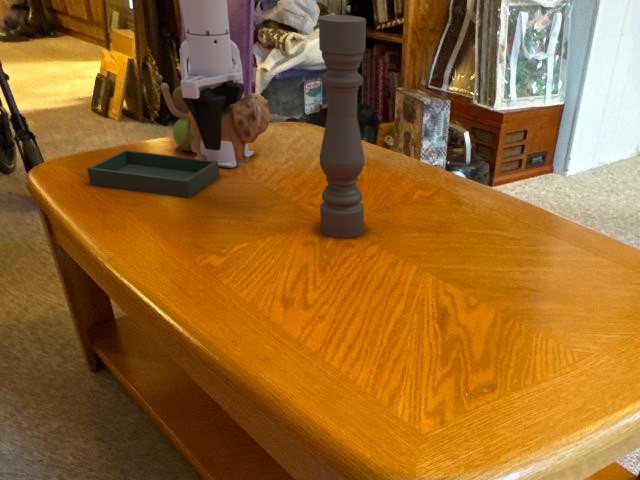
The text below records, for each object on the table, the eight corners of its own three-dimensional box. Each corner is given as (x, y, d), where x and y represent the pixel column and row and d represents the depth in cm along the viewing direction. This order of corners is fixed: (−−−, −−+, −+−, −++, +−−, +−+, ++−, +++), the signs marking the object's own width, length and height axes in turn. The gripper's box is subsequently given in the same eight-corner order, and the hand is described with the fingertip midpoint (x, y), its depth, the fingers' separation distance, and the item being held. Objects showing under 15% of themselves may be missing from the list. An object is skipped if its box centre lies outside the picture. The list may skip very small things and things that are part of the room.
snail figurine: (167, 148, 124) (155, 72, 116) (201, 145, 126) (192, 70, 118) (173, 156, 121) (162, 78, 113) (209, 153, 123) (200, 76, 115)
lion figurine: (276, 159, 101) (273, 90, 95) (266, 170, 97) (262, 99, 91) (182, 149, 102) (173, 80, 96) (168, 160, 98) (158, 89, 92)
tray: (127, 164, 116) (124, 149, 115) (219, 176, 113) (218, 161, 112) (90, 184, 108) (86, 168, 107) (188, 197, 105) (186, 181, 104)
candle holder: (365, 223, 100) (370, 16, 83) (360, 239, 95) (365, 23, 78) (324, 220, 100) (320, 13, 83) (317, 236, 95) (312, 20, 79)
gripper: (211, 43, 83) (224, 161, 92) (257, 27, 94) (264, 135, 103) (159, 38, 84) (177, 156, 93) (210, 22, 95) (221, 130, 104)
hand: (219, 144), depth 98 cm, fingers closed on lion figurine, 4 cm apart
